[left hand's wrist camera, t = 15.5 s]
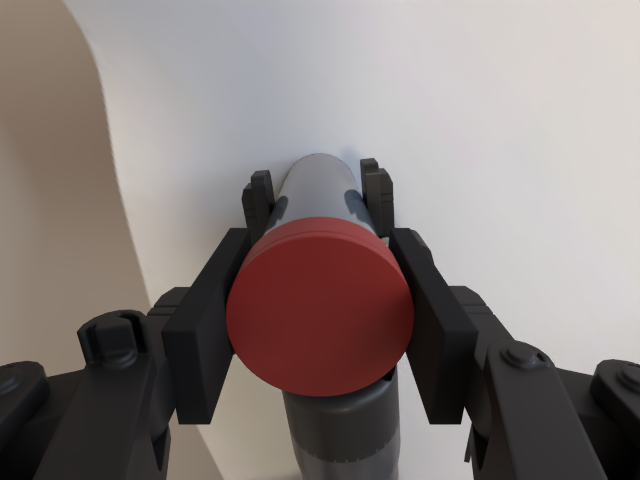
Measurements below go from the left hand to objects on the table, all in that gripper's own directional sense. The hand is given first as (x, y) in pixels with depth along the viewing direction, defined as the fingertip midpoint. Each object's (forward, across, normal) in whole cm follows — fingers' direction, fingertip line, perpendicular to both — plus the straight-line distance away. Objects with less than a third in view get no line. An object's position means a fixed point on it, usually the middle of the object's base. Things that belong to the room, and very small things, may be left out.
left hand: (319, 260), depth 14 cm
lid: (-4, 0, 0) cm, 4 cm away
